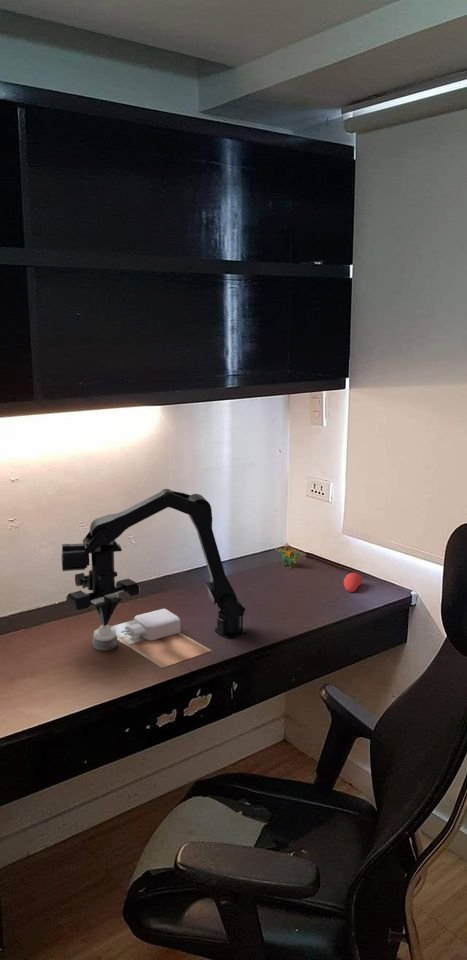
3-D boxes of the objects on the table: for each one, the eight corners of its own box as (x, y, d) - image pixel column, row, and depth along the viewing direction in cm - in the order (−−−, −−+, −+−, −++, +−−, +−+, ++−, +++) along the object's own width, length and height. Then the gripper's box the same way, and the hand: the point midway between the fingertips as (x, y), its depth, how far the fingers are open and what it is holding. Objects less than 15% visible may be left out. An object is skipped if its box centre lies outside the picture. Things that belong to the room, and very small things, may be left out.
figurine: (296, 571, 254) (297, 548, 252) (271, 562, 262) (271, 540, 260) (302, 569, 256) (303, 546, 254) (277, 560, 264) (278, 538, 262)
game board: (149, 615, 215) (149, 608, 215) (211, 651, 194) (211, 643, 193) (77, 636, 201) (77, 629, 200) (136, 677, 179) (136, 669, 179)
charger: (114, 635, 201) (163, 623, 210) (131, 648, 194) (180, 634, 203) (114, 619, 200) (162, 607, 209) (131, 631, 193) (180, 618, 202)
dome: (108, 630, 199) (108, 618, 199) (119, 637, 195) (119, 625, 195) (90, 636, 196) (89, 623, 195) (100, 643, 192) (100, 630, 191)
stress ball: (336, 593, 239) (340, 580, 235) (349, 576, 245) (353, 563, 240) (350, 601, 237) (354, 588, 233) (363, 584, 243) (367, 571, 238)
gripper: (118, 552, 203) (119, 606, 207) (55, 566, 192) (57, 623, 195) (140, 563, 195) (141, 619, 198) (76, 578, 183) (78, 638, 187)
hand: (104, 624), depth 195 cm, fingers closed, pressing on dome
